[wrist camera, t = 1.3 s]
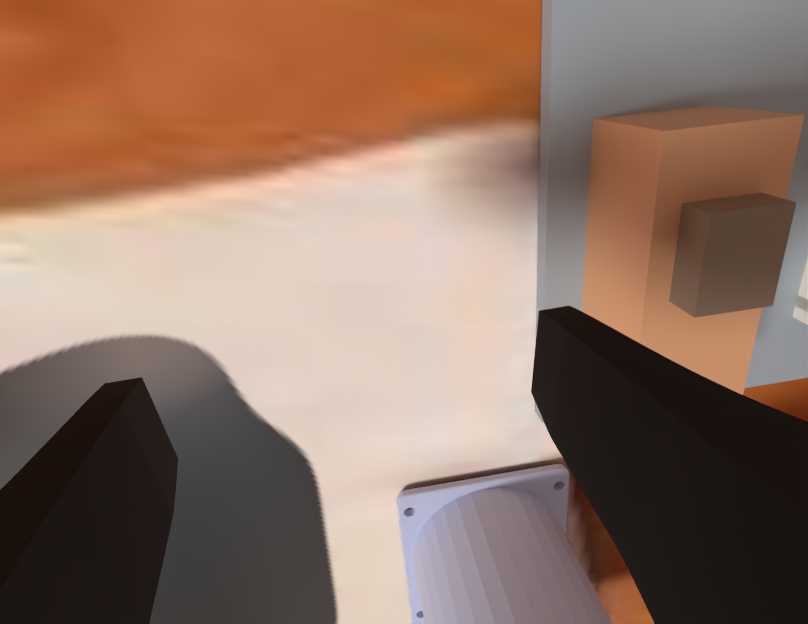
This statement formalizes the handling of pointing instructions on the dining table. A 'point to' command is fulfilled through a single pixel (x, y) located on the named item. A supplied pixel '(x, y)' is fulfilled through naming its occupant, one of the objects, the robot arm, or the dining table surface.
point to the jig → (666, 90)
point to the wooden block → (689, 230)
